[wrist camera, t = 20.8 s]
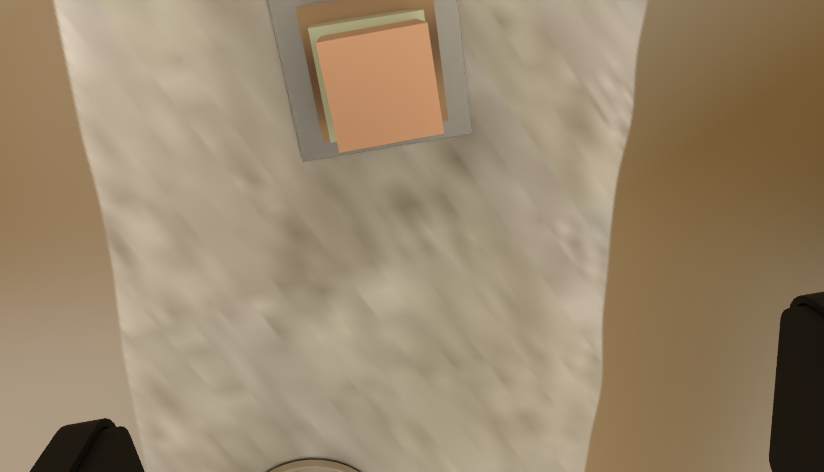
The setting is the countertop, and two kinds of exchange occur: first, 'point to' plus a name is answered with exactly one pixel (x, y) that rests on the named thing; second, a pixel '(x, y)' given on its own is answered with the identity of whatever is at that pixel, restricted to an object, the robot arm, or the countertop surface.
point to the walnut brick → (360, 3)
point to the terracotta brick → (380, 84)
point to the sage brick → (350, 25)
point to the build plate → (301, 92)
